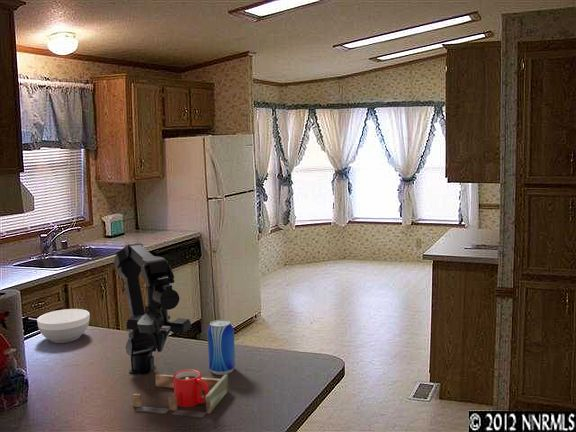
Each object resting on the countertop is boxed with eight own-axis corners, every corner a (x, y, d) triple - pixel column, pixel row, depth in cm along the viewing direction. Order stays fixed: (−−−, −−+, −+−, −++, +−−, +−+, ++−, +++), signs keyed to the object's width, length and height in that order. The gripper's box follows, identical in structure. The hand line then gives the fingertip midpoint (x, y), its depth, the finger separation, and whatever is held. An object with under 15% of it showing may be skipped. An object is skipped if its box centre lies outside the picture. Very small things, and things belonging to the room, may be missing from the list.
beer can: (231, 376, 189) (228, 327, 187) (205, 375, 191) (203, 326, 188) (238, 366, 197) (236, 319, 195) (214, 364, 199) (211, 318, 197)
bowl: (31, 338, 231) (29, 316, 230) (79, 326, 243) (78, 305, 242) (49, 350, 217) (47, 327, 215) (99, 338, 229) (97, 315, 228)
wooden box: (129, 410, 167) (127, 393, 167) (157, 384, 184) (156, 369, 184) (206, 418, 162) (205, 400, 161) (228, 390, 179) (227, 374, 178)
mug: (201, 412, 165) (200, 385, 164) (168, 403, 172) (167, 377, 170) (219, 401, 172) (218, 375, 171) (187, 392, 178) (185, 367, 177)
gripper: (114, 307, 172) (117, 358, 175) (173, 311, 167) (176, 364, 169) (134, 296, 183) (137, 345, 185) (190, 300, 178) (193, 350, 180)
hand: (160, 351), depth 180 cm, fingers closed
